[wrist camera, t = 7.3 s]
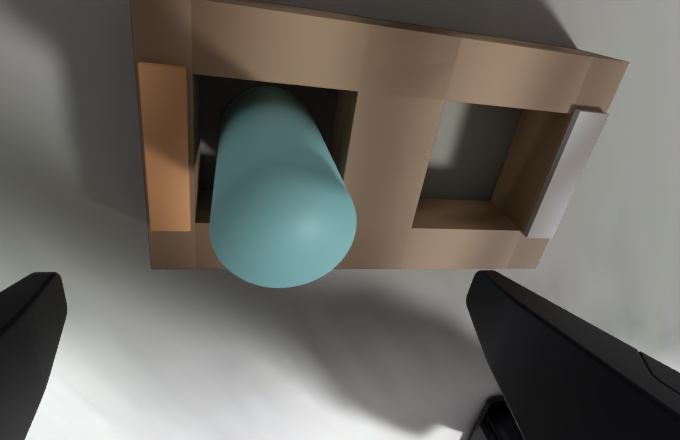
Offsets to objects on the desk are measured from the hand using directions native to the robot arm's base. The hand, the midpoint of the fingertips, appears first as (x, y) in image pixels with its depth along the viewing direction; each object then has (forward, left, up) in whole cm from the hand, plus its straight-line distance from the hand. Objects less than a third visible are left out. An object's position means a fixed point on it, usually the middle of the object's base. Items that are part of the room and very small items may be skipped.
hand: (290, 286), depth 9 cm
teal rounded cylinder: (0, 0, -11) cm, 11 cm away
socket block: (-5, 0, -11) cm, 12 cm away
